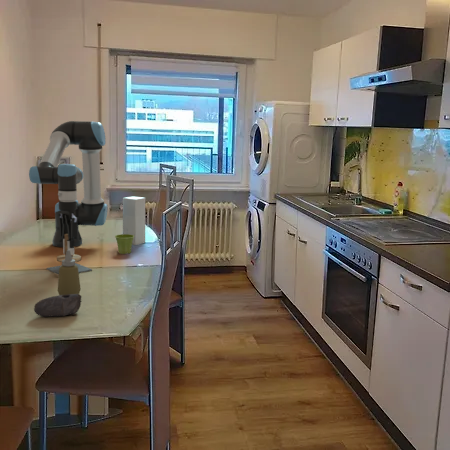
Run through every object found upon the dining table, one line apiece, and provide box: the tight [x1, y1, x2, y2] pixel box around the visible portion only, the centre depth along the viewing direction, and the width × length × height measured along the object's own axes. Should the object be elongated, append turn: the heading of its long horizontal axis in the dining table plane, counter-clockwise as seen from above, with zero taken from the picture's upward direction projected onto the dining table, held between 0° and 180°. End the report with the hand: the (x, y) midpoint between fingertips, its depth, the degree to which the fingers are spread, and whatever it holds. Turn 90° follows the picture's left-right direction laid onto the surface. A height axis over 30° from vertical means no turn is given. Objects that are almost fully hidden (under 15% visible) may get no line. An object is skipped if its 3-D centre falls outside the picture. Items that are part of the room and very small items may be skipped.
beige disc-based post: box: [56, 234, 82, 263], centre depth 221 cm, size 10×10×11 cm
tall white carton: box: [122, 195, 146, 246], centre depth 278 cm, size 9×9×25 cm
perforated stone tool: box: [33, 293, 83, 318], centre depth 168 cm, size 15×5×7 cm, turn 107°
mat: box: [46, 262, 93, 276], centre depth 223 cm, size 14×14×1 cm
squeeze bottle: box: [57, 250, 81, 296], centre depth 184 cm, size 8×8×18 cm
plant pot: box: [114, 233, 134, 255], centre depth 256 cm, size 9×9×9 cm
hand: (68, 254), depth 221 cm, fingers closed on beige disc-based post, 3 cm apart
